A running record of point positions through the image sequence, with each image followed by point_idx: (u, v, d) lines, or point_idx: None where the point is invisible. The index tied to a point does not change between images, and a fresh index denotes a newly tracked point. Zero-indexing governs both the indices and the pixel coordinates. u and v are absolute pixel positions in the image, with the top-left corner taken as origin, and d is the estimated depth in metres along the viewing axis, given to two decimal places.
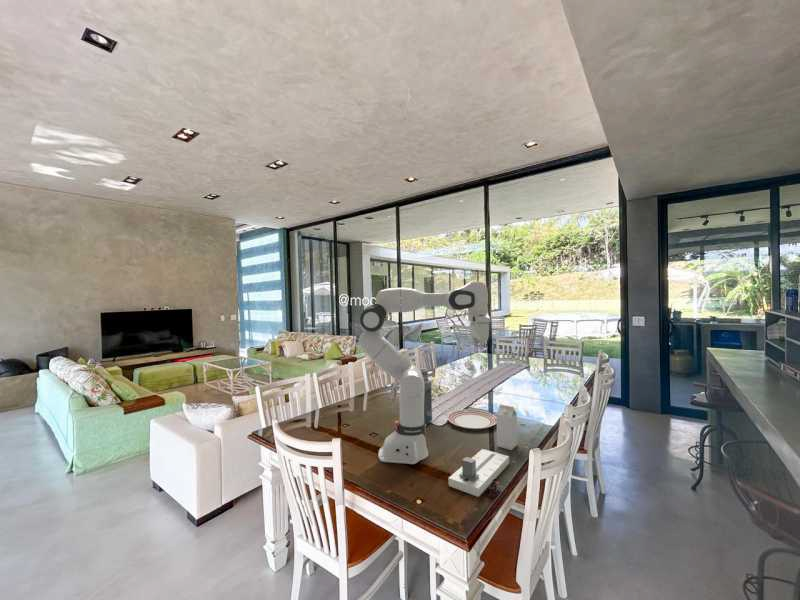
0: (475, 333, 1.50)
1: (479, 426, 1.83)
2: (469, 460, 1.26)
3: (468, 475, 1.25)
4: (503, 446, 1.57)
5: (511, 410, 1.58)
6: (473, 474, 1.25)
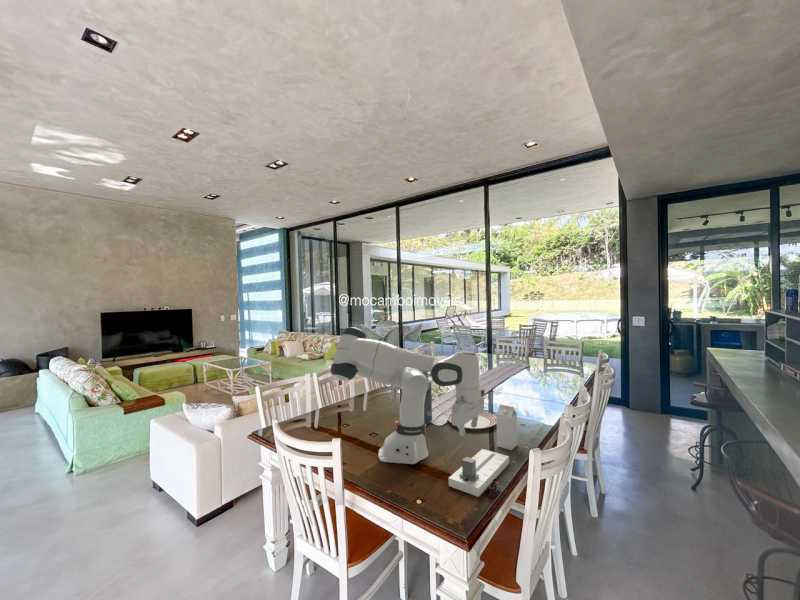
0: (475, 412, 1.27)
1: (479, 426, 1.83)
2: (469, 460, 1.26)
3: (468, 475, 1.25)
4: (503, 446, 1.57)
5: (511, 410, 1.58)
6: (473, 474, 1.25)
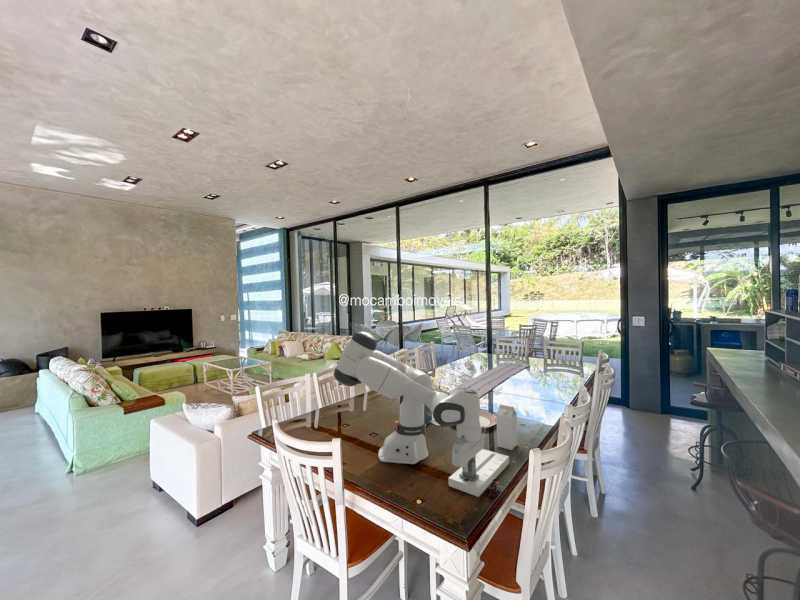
0: (475, 449, 1.27)
1: None
2: (469, 460, 1.26)
3: (468, 475, 1.25)
4: (503, 446, 1.57)
5: (511, 410, 1.58)
6: (473, 474, 1.25)
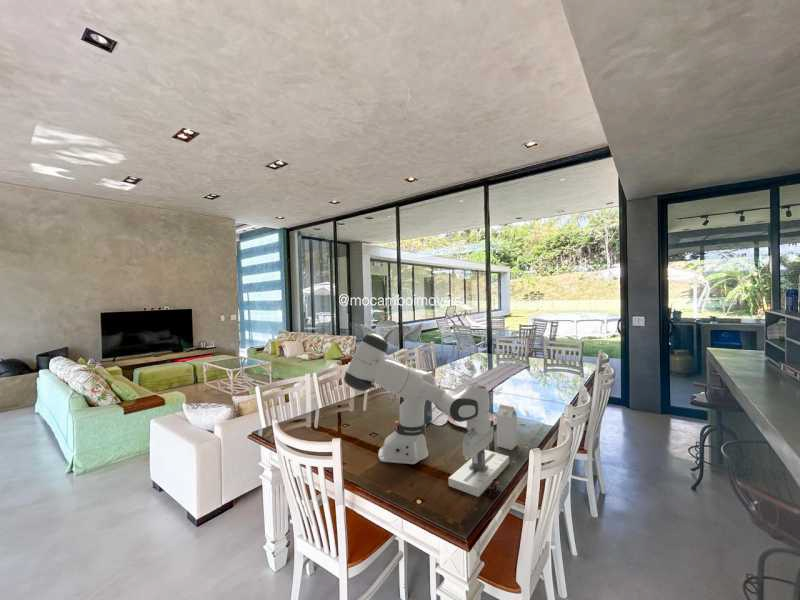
0: (484, 442, 1.34)
1: None
2: (478, 452, 1.33)
3: (478, 466, 1.32)
4: (503, 446, 1.57)
5: (511, 410, 1.58)
6: (482, 465, 1.32)
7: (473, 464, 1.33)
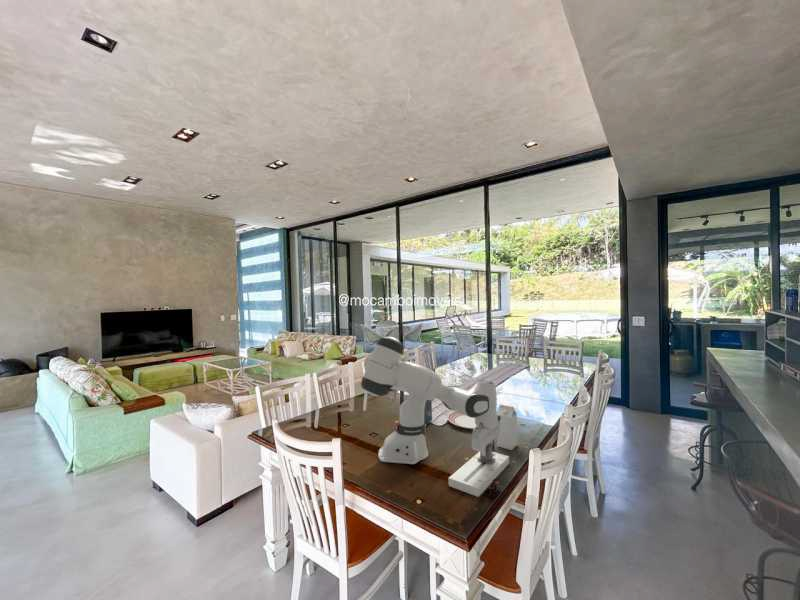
0: (492, 436, 1.40)
1: None
2: None
3: (486, 459, 1.38)
4: (503, 446, 1.57)
5: (511, 410, 1.58)
6: (490, 458, 1.38)
7: (481, 457, 1.39)
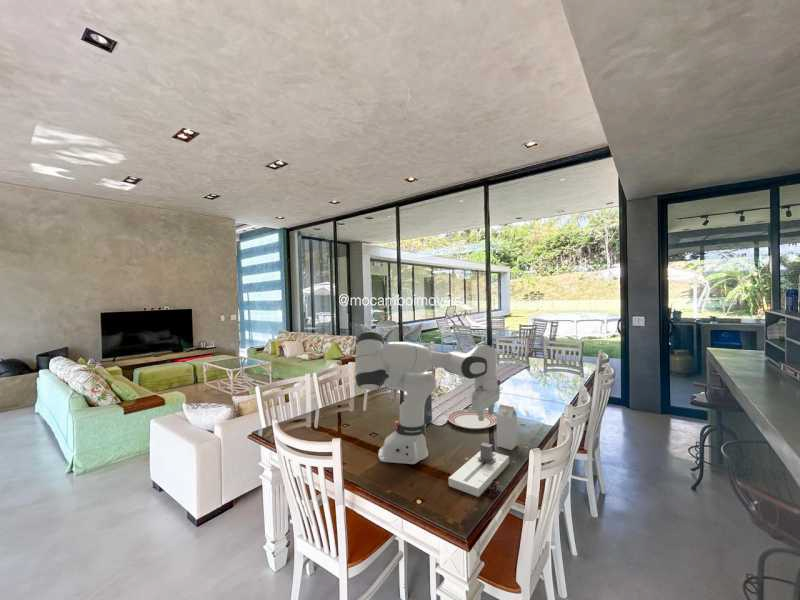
0: (492, 400, 1.40)
1: (479, 426, 1.83)
2: (486, 445, 1.39)
3: (486, 458, 1.38)
4: (503, 446, 1.57)
5: (511, 410, 1.58)
6: (490, 458, 1.38)
7: (481, 457, 1.39)
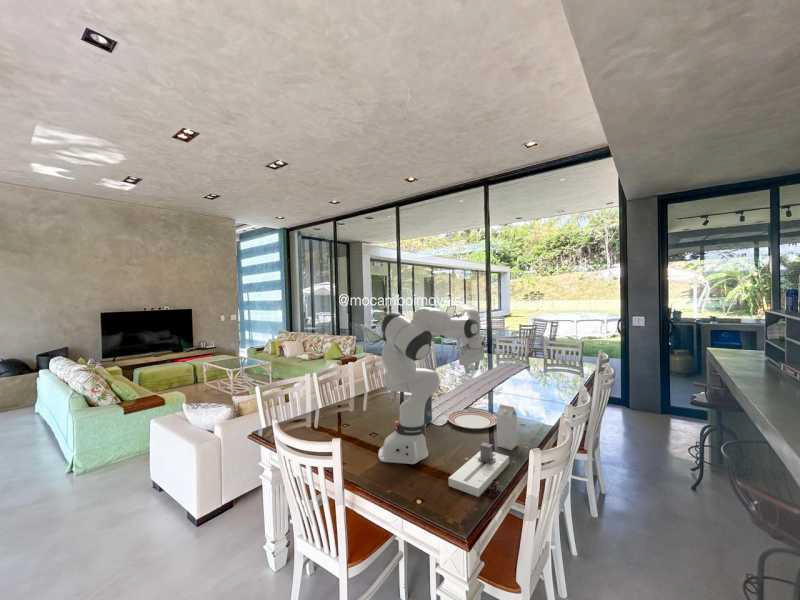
0: (477, 357, 1.65)
1: (479, 426, 1.83)
2: (486, 445, 1.39)
3: (486, 458, 1.38)
4: (503, 446, 1.57)
5: (511, 410, 1.58)
6: (490, 458, 1.38)
7: (481, 457, 1.39)
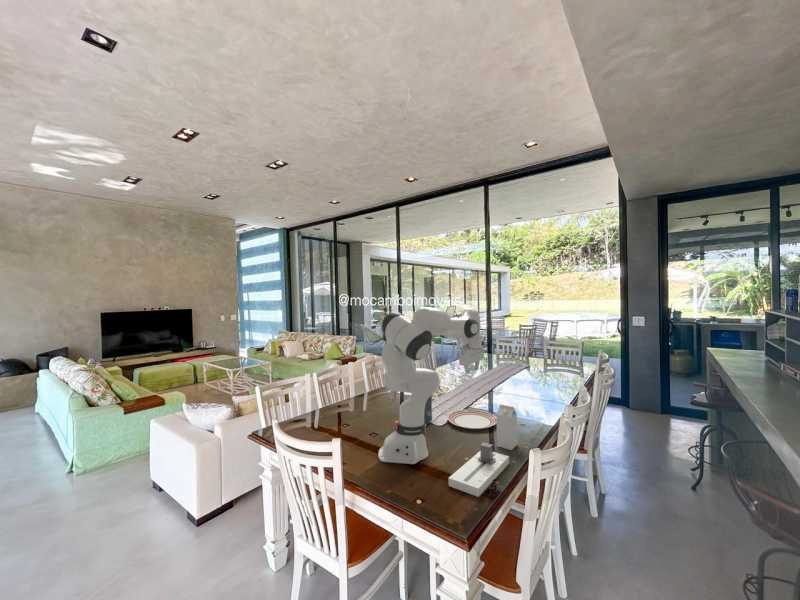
0: (477, 357, 1.65)
1: (479, 426, 1.83)
2: (486, 445, 1.39)
3: (486, 458, 1.38)
4: (503, 446, 1.57)
5: (511, 410, 1.58)
6: (490, 458, 1.38)
7: (481, 457, 1.39)
